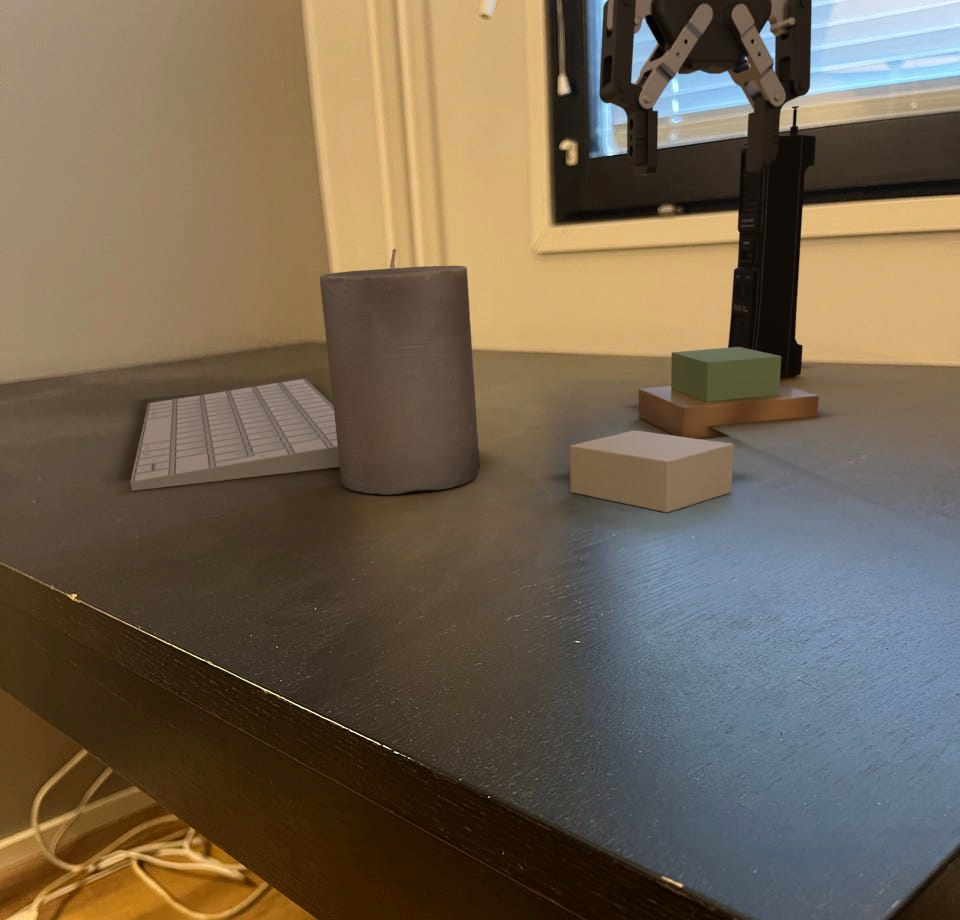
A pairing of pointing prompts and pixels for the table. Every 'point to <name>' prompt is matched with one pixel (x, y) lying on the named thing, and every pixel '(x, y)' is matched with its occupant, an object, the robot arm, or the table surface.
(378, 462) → the pillar candle
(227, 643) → the table surface
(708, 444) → the beige block
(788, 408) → the brown l-shaped block
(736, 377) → the green pad
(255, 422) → the computer keyboard
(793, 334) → the portable radio
